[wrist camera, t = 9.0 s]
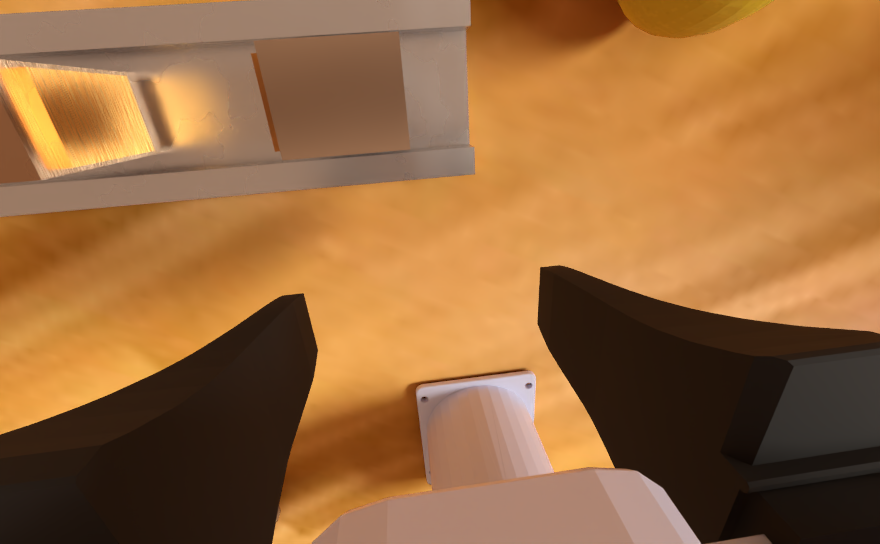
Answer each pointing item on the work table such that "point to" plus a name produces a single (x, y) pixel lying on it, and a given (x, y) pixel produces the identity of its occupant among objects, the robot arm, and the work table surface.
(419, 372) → the work table surface
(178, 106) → the rail
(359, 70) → the brown rectangular block
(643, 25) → the lemon
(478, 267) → the work table surface
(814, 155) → the work table surface
